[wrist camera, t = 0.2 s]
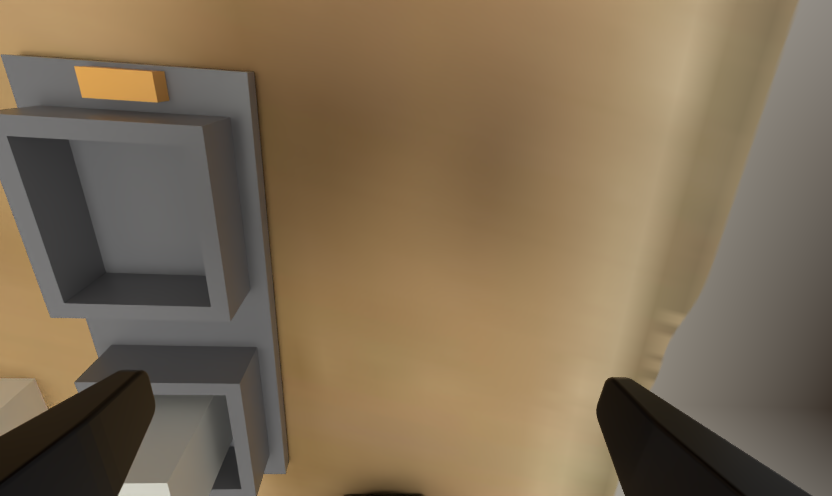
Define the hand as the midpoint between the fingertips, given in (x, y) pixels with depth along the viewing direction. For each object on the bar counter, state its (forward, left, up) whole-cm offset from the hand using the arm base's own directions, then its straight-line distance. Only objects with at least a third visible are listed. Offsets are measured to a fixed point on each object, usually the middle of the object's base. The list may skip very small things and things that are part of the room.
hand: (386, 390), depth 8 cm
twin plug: (-14, +11, -14) cm, 23 cm away
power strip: (-8, +11, -15) cm, 20 cm away
